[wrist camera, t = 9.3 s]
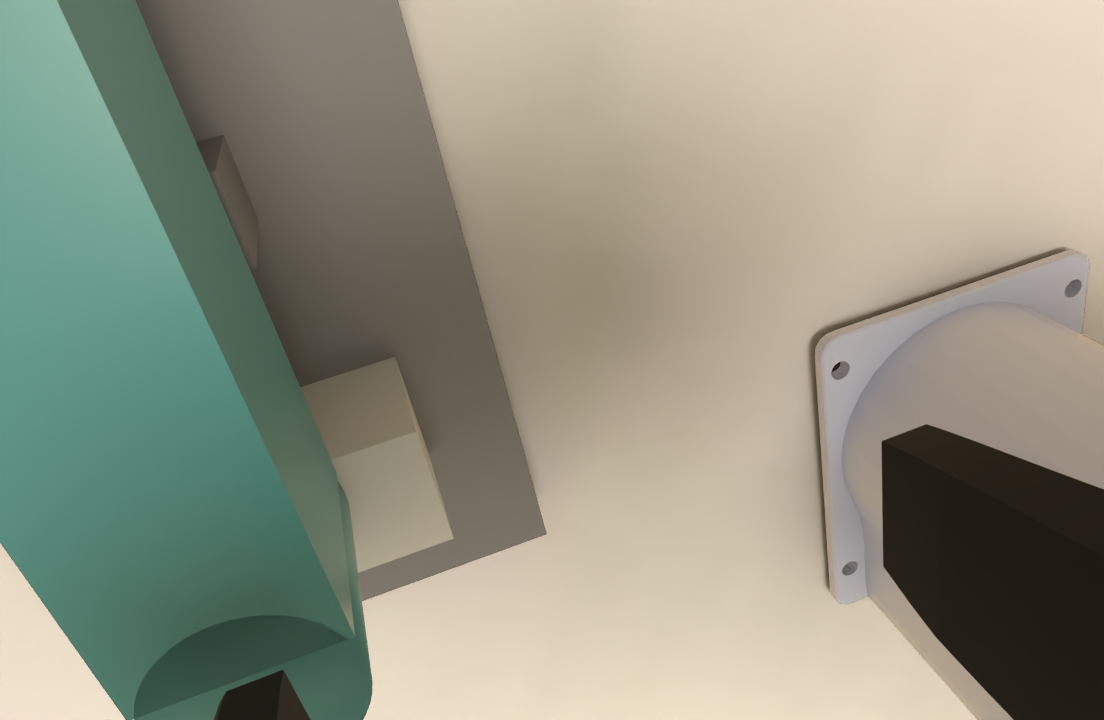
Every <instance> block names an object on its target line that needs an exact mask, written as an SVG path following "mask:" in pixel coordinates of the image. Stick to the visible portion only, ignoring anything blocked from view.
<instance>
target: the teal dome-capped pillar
mask: <svg viewBox="0 0 1104 720" xmlns="http://www.w3.org/2000/svg"><path fill="white" fill-rule="evenodd" d="M0 543H1V544H2V546H3V547H4V549H5V550H6V551H7V553H8V554H9V556H10V557H11V559H12V560H13V561H14V563H15V564H16V566H17V567H18V568H19V570H20V571H21V573H22V574H23V575H24V577H25V578H26V580H27V581H28V582H29V584H30V585H31V587H32V588H33V589H34V591H35V592H36V594H37V595H38V597H39V598H40V599H41V601H42V602H43V604H44V605H45V606H46V608H47V609H48V611H49V612H50V613H51V615H52V616H53V618H54V619H55V620H56V622H57V623H58V625H59V626H60V628H61V629H62V630H63V632H64V633H65V635H66V636H67V637H68V639H69V640H70V642H71V643H72V644H73V646H74V647H75V649H76V650H77V651H78V653H79V654H80V656H81V657H82V659H83V660H84V661H85V663H86V664H87V666H88V667H89V668H90V670H91V671H92V673H93V674H94V675H95V677H96V678H97V680H98V681H99V682H100V684H101V685H102V687H103V688H104V690H105V691H106V692H107V694H108V695H109V697H110V698H111V699H112V701H113V702H114V704H115V705H116V706H117V708H118V709H119V711H120V712H121V713H122V715H123V716H124V718H125V719H126V720H133V719H134V720H214V718H215V715H216V712H217V709H218V706H219V703H220V701H221V699H222V698H223V696H224V694H225V692H226V691H228V690H231V689H234V688H236V687H239V686H241V685H244V684H247V683H249V682H252V681H255V680H257V679H260V678H262V677H265V676H268V675H270V674H273V673H275V672H278V671H281V670H284V672H285V674H286V675H287V677H288V679H289V681H290V683H291V685H292V686H293V688H294V690H295V692H296V694H297V696H298V698H299V699H300V701H301V703H302V705H303V707H304V709H305V710H306V712H307V714H308V716H309V718H310V720H363V719H364V717H365V715H366V713H367V710H368V707H369V705H370V701H371V696H372V676H371V668H370V661H369V653H368V645H367V638H366V630H365V622H364V615H363V607H362V599H361V592H360V584H359V576H358V568H357V561H356V553H355V545H354V538H353V530H352V522H351V515H350V508H349V502H348V499H347V496H346V494H345V492H344V490H343V488H342V486H341V485H340V483H339V482H338V481H337V473H336V470H335V468H334V465H333V463H332V461H331V458H330V456H329V454H328V451H327V449H326V447H325V444H324V442H323V440H322V437H321V435H320V433H319V430H318V428H317V426H316V423H315V421H314V418H313V416H312V414H311V411H310V409H309V407H308V404H307V402H306V400H305V397H304V395H303V393H302V390H301V388H300V386H299V383H298V381H297V379H296V376H295V374H294V372H293V369H292V367H291V364H290V362H289V360H288V357H287V355H286V353H285V350H284V348H283V346H282V343H281V341H280V339H279V336H278V334H277V332H276V329H275V327H274V325H273V322H272V320H271V318H270V315H269V313H268V310H267V308H266V306H265V303H264V301H263V299H262V296H261V294H260V292H259V289H258V287H257V285H256V282H255V280H254V278H253V275H252V273H251V271H250V268H249V266H248V264H247V261H246V259H245V257H244V254H243V252H242V249H241V247H240V245H239V242H238V240H237V238H236V235H235V233H234V231H233V228H232V226H231V224H230V221H229V219H228V217H227V214H226V212H225V210H224V207H223V205H222V203H221V200H220V198H219V195H218V193H217V191H216V188H215V186H214V184H213V181H212V179H211V177H210V174H209V172H208V170H207V167H206V165H205V163H204V160H203V158H202V156H201V153H200V151H199V149H198V146H197V144H196V141H195V139H194V137H193V134H192V132H191V130H190V127H189V125H188V123H187V120H186V118H185V116H184V113H183V111H182V109H181V106H180V104H179V102H178V99H177V97H176V95H175V92H174V90H173V87H172V85H171V83H170V80H169V78H168V76H167V73H166V71H165V69H164V66H163V64H162V62H161V59H160V57H159V55H158V52H157V50H156V48H155V45H154V43H153V41H152V38H151V36H150V33H149V31H148V29H147V26H146V24H145V22H144V19H143V17H142V15H141V12H140V10H139V8H138V5H137V3H136V1H135V0H0Z"/></svg>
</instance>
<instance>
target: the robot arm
mask: <svg viewBox="0 0 1104 720" xmlns="http://www.w3.org/2000/svg"><path fill="white" fill-rule="evenodd" d="M1088 275H1089V259H1088V257H1087V256H1086V255H1084V254H1082V253H1079V252H1077V251H1074V250H1066V251H1063V252H1060V253H1058V254H1055V255H1052V256H1049V257H1046V258H1043V259H1040V260H1037V261H1034V262H1031V263H1028V264H1026V265H1023V266H1020V267H1017V268H1014V269H1011V270H1008V271H1005V272H1002V273H999V274H997V275H994V276H991V277H988V278H985V279H982V280H979V281H976V282H973V283H970V284H968V285H965V286H962V287H959V288H956V289H953V290H950V291H947V292H944V293H941V294H939V295H936V296H933V297H930V298H927V299H924V300H921V301H918V302H915V303H912V304H910V305H907V306H904V307H901V308H898V309H895V310H892V311H889V312H886V313H883V314H880V315H878V316H875V317H872V318H869V319H866V320H863V321H860V322H857V323H854V324H851V325H849V326H846V327H843V328H840V329H837V330H834V331H831V332H829V333H828V334H826V335H824V336H823V337H822V338H821V339H820V340H819V342H818V344H817V346H816V349H815V366H816V382H817V397H818V413H819V428H820V444H821V459H822V475H823V490H824V506H825V521H826V537H827V552H828V567H829V583H830V592H831V595H832V596H833V597H834V598H835V600H836V601H837V602H839V603H840V604H850V603H853V602H855V601H858V600H860V599H863V598H866V597H868V596H869V597H870V598H871V599H872V601H873V602H874V603H875V604H876V605H877V606H878V607H879V609H880V610H881V611H882V612H883V613H884V614H885V615H886V617H887V618H888V619H889V620H890V621H891V622H892V623H893V624H894V626H895V627H896V628H897V629H898V630H899V631H900V632H901V634H902V635H903V636H904V637H905V638H906V639H907V640H908V642H909V643H910V644H911V645H912V646H913V647H914V648H915V649H916V651H917V652H918V653H919V654H920V655H921V656H922V657H923V659H924V660H925V661H926V662H927V663H928V664H929V665H930V667H931V668H932V669H933V670H934V671H935V672H936V673H937V675H938V676H939V677H940V678H941V679H942V680H943V681H944V682H945V684H946V685H947V686H948V687H949V688H950V689H951V690H952V692H953V693H954V694H955V695H956V696H957V697H958V698H959V700H960V701H961V702H962V703H963V704H964V705H965V706H966V707H967V709H968V710H969V711H970V712H971V713H972V714H973V715H974V717H975V718H976V719H977V720H1104V346H1103V345H1101V344H1099V343H1097V342H1095V341H1093V340H1091V339H1089V338H1087V337H1085V336H1083V335H1082V328H1083V319H1084V310H1085V301H1086V292H1087V284H1088ZM1068 284H1069V285H1068ZM1067 285H1068V286H1067ZM1066 286H1067V288H1066ZM839 362H841V364H840V366H839V368H838V369H837V370H836V371H834V372H832V369H833V367H834V366H835V365H836V364H837V363H839ZM831 372H832V373H831ZM214 720H310V718H309V716H308V714H307V712H306V710H305V709H304V707H303V705H302V703H301V701H300V699H299V698H298V696H297V694H296V692H295V690H294V688H293V686H292V685H291V683H290V681H289V679H288V677H287V675H286V674H285V672H284V670H281V671H278V672H275V673H273V674H270V675H268V676H265V677H262V678H260V679H257V680H255V681H252V682H249V683H247V684H244V685H241V686H239V687H236V688H234V689H231V690H228V691H226V692H225V694H224V696H223V698H222V699H221V701H220V703H219V706H218V709H217V712H216V715H215V718H214Z"/></svg>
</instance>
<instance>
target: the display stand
mask: <svg viewBox="0 0 1104 720" xmlns="http://www.w3.org/2000/svg"><path fill="white" fill-rule="evenodd" d="M135 1H136V3H137V5H138V8H139V10H140V12H141V15H142V17H143V19H144V22H145V24H146V26H147V29H148V31H149V33H150V36H151V38H152V41H153V43H154V45H155V48H156V50H157V52H158V55H159V57H160V59H161V62H162V64H163V66H164V69H165V71H166V73H167V76H168V78H169V80H170V83H171V85H172V87H173V90H174V92H175V95H176V97H177V99H178V102H179V104H180V106H181V109H182V111H183V113H184V116H185V118H186V120H187V123H188V125H189V127H190V130H191V132H192V134H193V137H194V139H195V141H196V144H197V146H198V149H199V151H200V153H201V156H202V158H203V160H204V163H205V165H206V167H207V170H208V172H209V174H210V177H211V179H212V181H213V184H214V186H215V188H216V191H217V193H218V195H219V198H220V200H221V203H222V205H223V207H224V210H225V212H226V214H227V217H228V219H229V221H230V224H231V226H232V228H233V231H234V233H235V235H236V238H237V240H238V242H239V245H240V247H241V249H242V252H243V254H244V257H245V259H246V261H247V264H248V266H249V268H250V271H251V273H252V275H253V278H254V280H255V282H256V285H257V287H258V289H259V292H260V294H261V296H262V299H263V301H264V303H265V306H266V308H267V310H268V313H269V315H270V318H271V320H272V322H273V325H274V327H275V329H276V332H277V334H278V336H279V339H280V341H281V343H282V346H283V348H284V350H285V353H286V355H287V357H288V360H289V362H290V364H291V367H292V369H293V372H294V374H295V376H296V379H297V381H298V383H299V386H300V388H301V390H302V393H303V395H304V397H305V400H306V402H307V404H308V407H309V409H310V411H311V414H312V416H313V418H314V421H315V423H316V426H317V428H318V430H319V433H320V435H321V437H322V440H323V442H324V444H325V447H326V449H327V451H328V454H329V456H330V458H331V461H332V463H333V465H334V468H335V470H336V473H337V481H338V482H339V483H340V485H341V486H342V488H343V490H344V492H345V494H346V496H347V499H348V502H349V508H350V515H351V522H352V530H353V538H354V545H355V553H356V561H357V568H358V576H359V584H360V592H361V599H362V601H364V600H366V599H369V598H372V597H375V596H377V595H380V594H383V593H386V592H388V591H391V590H394V589H397V588H399V587H402V586H405V585H408V584H410V583H413V582H416V581H419V580H422V579H424V578H427V577H430V576H433V575H435V574H438V573H441V572H444V571H446V570H449V569H452V568H455V567H457V566H460V565H463V564H466V563H468V562H471V561H474V560H477V559H479V558H482V557H485V556H488V555H490V554H493V553H496V552H499V551H501V550H504V549H507V548H510V547H512V546H515V545H518V544H521V543H523V542H526V541H529V540H532V539H534V538H537V537H540V536H543V535H545V534H546V530H545V526H544V523H543V519H542V516H541V512H540V508H539V505H538V501H537V498H536V494H535V491H534V487H533V483H532V480H531V476H530V473H529V469H528V466H527V462H526V458H525V455H524V451H523V448H522V444H521V440H520V437H519V433H518V430H517V426H516V423H515V419H514V415H513V412H512V408H511V405H510V401H509V398H508V394H507V390H506V387H505V383H504V380H503V376H502V372H501V369H500V365H499V362H498V358H497V355H496V351H495V347H494V344H493V340H492V337H491V333H490V330H489V326H488V322H487V319H486V315H485V312H484V308H483V304H482V301H481V297H480V294H479V290H478V287H477V283H476V279H475V276H474V272H473V269H472V265H471V262H470V258H469V254H468V251H467V247H466V244H465V240H464V236H463V233H462V229H461V226H460V222H459V219H458V215H457V211H456V208H455V204H454V201H453V197H452V194H451V190H450V186H449V183H448V179H447V176H446V172H445V168H444V165H443V161H442V158H441V154H440V151H439V147H438V143H437V140H436V136H435V133H434V129H433V126H432V122H431V118H430V115H429V111H428V108H427V104H426V100H425V97H424V93H423V90H422V86H421V83H420V79H419V75H418V72H417V68H416V65H415V61H414V58H413V54H412V50H411V47H410V43H409V40H408V36H407V32H406V29H405V25H404V22H403V18H402V15H401V11H400V7H399V4H398V0H135Z"/></svg>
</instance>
